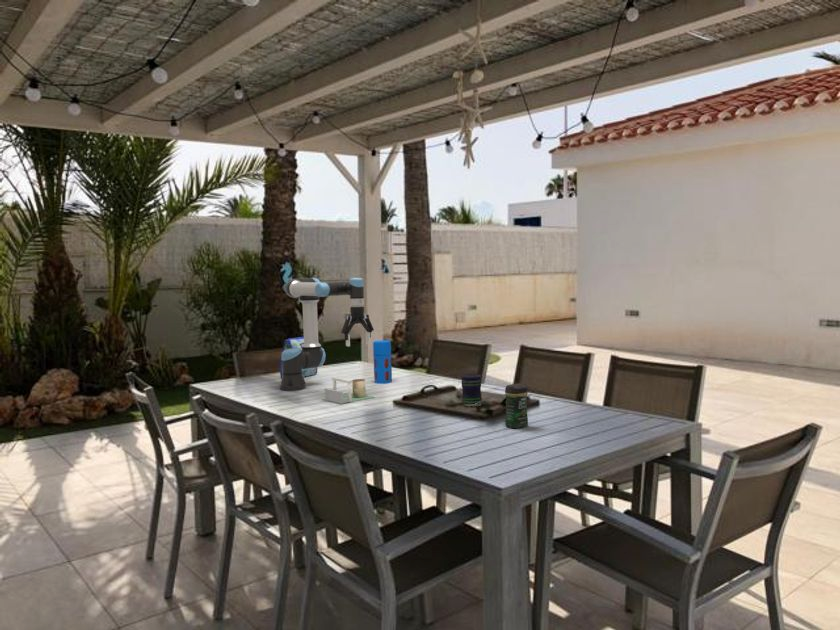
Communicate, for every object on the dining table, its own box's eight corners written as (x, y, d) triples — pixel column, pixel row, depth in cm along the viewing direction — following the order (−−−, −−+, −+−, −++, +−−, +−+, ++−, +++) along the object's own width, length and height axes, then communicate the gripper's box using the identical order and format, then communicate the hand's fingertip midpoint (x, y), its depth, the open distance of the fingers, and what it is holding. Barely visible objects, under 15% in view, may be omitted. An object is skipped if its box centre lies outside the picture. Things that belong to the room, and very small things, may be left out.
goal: (324, 399, 360) (324, 378, 359) (335, 397, 364) (334, 377, 363) (341, 403, 348) (340, 382, 347) (352, 401, 352) (351, 380, 352)
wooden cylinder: (350, 396, 365) (349, 380, 365) (360, 394, 370) (360, 378, 369) (357, 398, 360) (357, 381, 359) (368, 396, 365) (367, 379, 364)
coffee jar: (515, 429, 285) (514, 386, 283) (502, 426, 291) (501, 384, 290) (531, 426, 291) (530, 383, 289) (518, 423, 297) (517, 381, 295)
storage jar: (471, 408, 330) (470, 377, 329) (457, 405, 337) (457, 375, 336) (485, 405, 336) (485, 375, 335) (472, 402, 344) (471, 373, 343)
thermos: (393, 380, 416) (391, 340, 414) (390, 383, 405) (389, 342, 403) (375, 380, 417) (374, 340, 415) (372, 383, 406) (371, 342, 404)
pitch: (321, 399, 362) (321, 398, 362) (355, 393, 377) (355, 392, 376) (340, 404, 349) (340, 403, 349) (374, 397, 363) (374, 397, 363)
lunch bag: (298, 380, 427) (296, 339, 425) (278, 378, 435) (276, 338, 433) (320, 374, 446) (319, 335, 444) (301, 373, 454) (300, 334, 452)
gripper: (342, 307, 355) (343, 347, 357) (379, 305, 372) (380, 343, 373) (334, 307, 361) (335, 346, 362) (371, 304, 377) (371, 342, 379)
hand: (358, 345), depth 368 cm, fingers open, 13 cm apart
